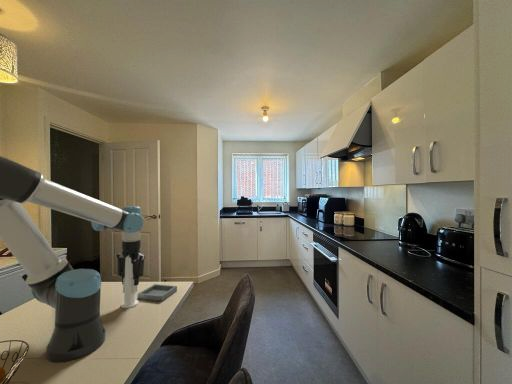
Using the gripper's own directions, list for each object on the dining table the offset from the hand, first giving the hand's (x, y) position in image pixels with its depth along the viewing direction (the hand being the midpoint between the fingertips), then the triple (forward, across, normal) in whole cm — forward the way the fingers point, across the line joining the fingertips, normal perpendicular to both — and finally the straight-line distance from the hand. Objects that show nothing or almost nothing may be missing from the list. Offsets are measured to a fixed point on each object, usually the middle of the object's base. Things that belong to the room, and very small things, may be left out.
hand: (130, 291), depth 104 cm
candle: (+6, 0, 0) cm, 6 cm away
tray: (+6, -6, -12) cm, 15 cm away
